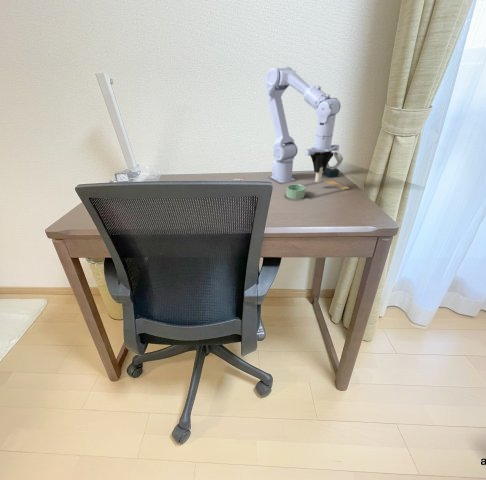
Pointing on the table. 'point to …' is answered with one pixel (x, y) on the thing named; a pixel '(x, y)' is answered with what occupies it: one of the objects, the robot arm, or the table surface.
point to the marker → (319, 174)
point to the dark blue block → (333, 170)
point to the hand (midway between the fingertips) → (319, 171)
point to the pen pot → (295, 191)
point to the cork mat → (337, 184)
